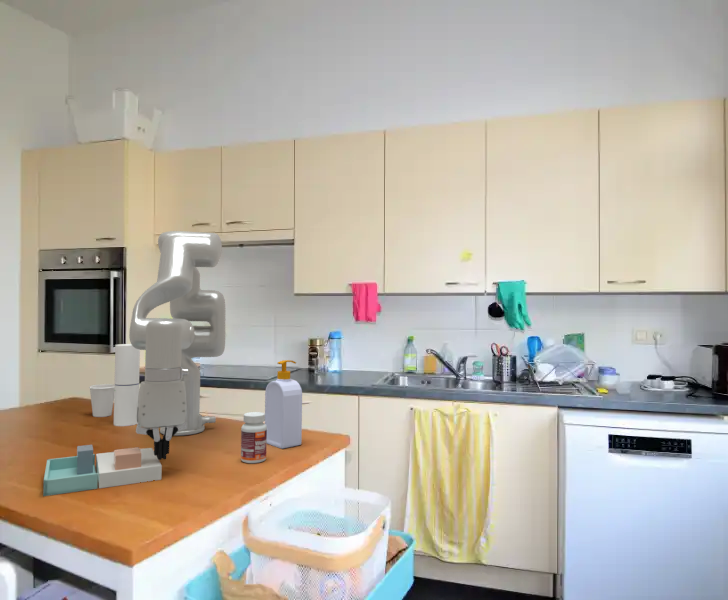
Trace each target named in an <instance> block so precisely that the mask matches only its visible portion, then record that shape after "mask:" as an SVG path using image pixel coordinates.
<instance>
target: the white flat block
mask: <svg viewBox="0 0 728 600" xmlns="http://www.w3.org/2000/svg"><path fill="white" fill-rule="evenodd" d="M139 449H140V451H141V467H137V468H129V469H121V470H115V467H114V451H111V452H102V453H96V454H95V471H96V473H98V483H97V486H98V489H104V488H111V487H119V486H125V485H130V484H131V485H132V484H139V483H140V482H141V483H146V482H147V481H148V482H152V481H153V480H155V481H161V480H162V474H163V473H162V468H163V466H162V464H161V462H160V460H158V458H157V455H154V448H153V447H146V448H139Z"/></svg>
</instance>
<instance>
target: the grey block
mask: <svg viewBox="0 0 728 600" xmlns="http://www.w3.org/2000/svg"><path fill="white" fill-rule="evenodd" d="M93 454H94V446H93V444H85V445H77V447H76V456H77V475H79V474H87V473H93Z"/></svg>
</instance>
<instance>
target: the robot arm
mask: <svg viewBox="0 0 728 600" xmlns="http://www.w3.org/2000/svg"><path fill="white" fill-rule="evenodd" d="M157 240H158V241H157V243H158V244H157V245H158V249H159V252H160V257H159V265H158V272H157V280H156V282H155V283H154V284H151V286H149V287H148V288H147V289H146V290H145V291H144V292H142V294H141V295H140V296H139V297H138V299H137V300H136V302H135V304H134V306H133V307H132V308H133V309H132V312H131V313H132V314H131V319H130V325H129V336H128V337H129V342H130V344H131V345H132V346H133V347H134V348H136V349H139V350H140V351H145V356H144V357H145V358H144V359H145V361H144V362H145V363H144V365H145V367H144V381H141V382H140V383H139V395H138V405H137V423H138V424H136V429H135V433H136V434H137V435H146V436H148V437H149V438H151V439H152V440H153V445H154V446H153V451H154V455H156V456H157V458H158V460H159V461H160V460H167V455H169V454H170V441H171V439H172V438H173V437H174V436H175V437H176V436H188V435H189V436H190V435H195V434H199V433H201V432H204V431H205V425H206V424H213V423H214V424H215V423H216V422H217V421H216V420H217V419H216V416H214V415H212V416H209V415H205V416H203V415H202V414H200V413H201V412H200V407H201V406H200V404H201V402H200V401H201V371H200V369H199V367H198V365H197V364H196V363H195V362H194V361H193V359H192V358H195V359H196V358H217V357H220V356H223V354H224V352H225V347H226V299H225V297H224V295H223V293H222V292H221V291H218V290H212V289H211V290H210V289H207V290H206V289H205V290H204V289H201V285H200V283H201V274H200V271H199V269H198V268H214V267H216V266H217V265H218V264H219V262H220V261H219V260H220V259H221V256H222V253H223V245H222V240H221V237H220V235H219V234H218V233H215V232H202V231H201V232H199V231H183V230H170V231H165V232H162V233H160V234H159V236H158V239H157ZM167 303H169V311H170V315H171V318H168V317H162V318H161V317H158V318H157V317H147V316H148V315H149V313H150V312H151V311H154V309H155V308H157V307H159V306H161V305H164V304H167ZM191 322H203V323H205V322H207V323H209V325H194V324H192V323H191ZM159 429H160V430H159ZM160 434H162V437H161V436H160Z"/></svg>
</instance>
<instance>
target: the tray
mask: <svg viewBox="0 0 728 600" xmlns="http://www.w3.org/2000/svg"><path fill="white" fill-rule="evenodd" d="M44 471H45V472H44V475H43V476H44V477H43V494H42V495H43V496H42V497H47V496H53V495H54V496H55V495H62V494H69V493H75V492H76V493H77V492H82V491H89V490H90V491H91V490H96V489H98V473H97V470H96V454H95V453H93V473H87V474H79V475H77V455H76V456H75V455H74V456H67V457H56V458H49V459H48V458H47V459H46V466H45V470H44Z"/></svg>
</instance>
